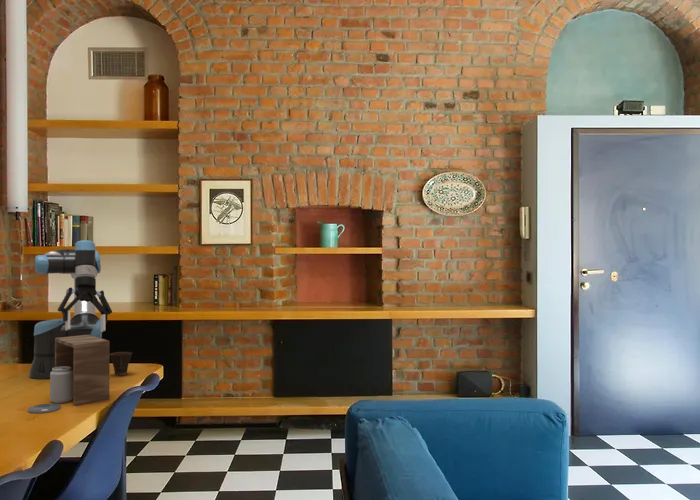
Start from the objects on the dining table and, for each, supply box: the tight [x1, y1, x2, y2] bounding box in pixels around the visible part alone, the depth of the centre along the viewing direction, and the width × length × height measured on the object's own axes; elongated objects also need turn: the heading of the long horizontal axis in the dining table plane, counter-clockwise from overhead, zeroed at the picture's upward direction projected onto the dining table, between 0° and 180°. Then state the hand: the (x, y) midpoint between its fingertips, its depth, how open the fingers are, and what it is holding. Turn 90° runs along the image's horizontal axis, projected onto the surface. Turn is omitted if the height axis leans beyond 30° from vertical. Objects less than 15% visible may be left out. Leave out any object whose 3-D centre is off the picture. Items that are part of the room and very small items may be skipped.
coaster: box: [27, 403, 62, 415], centre depth 204 cm, size 10×10×1 cm
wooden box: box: [55, 335, 111, 407], centre depth 220 cm, size 19×12×21 cm, turn 45°
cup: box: [110, 351, 133, 377], centre depth 256 cm, size 9×9×10 cm
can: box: [49, 366, 73, 404], centre depth 215 cm, size 8×8×12 cm
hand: (85, 330), depth 233 cm, fingers open, 13 cm apart
